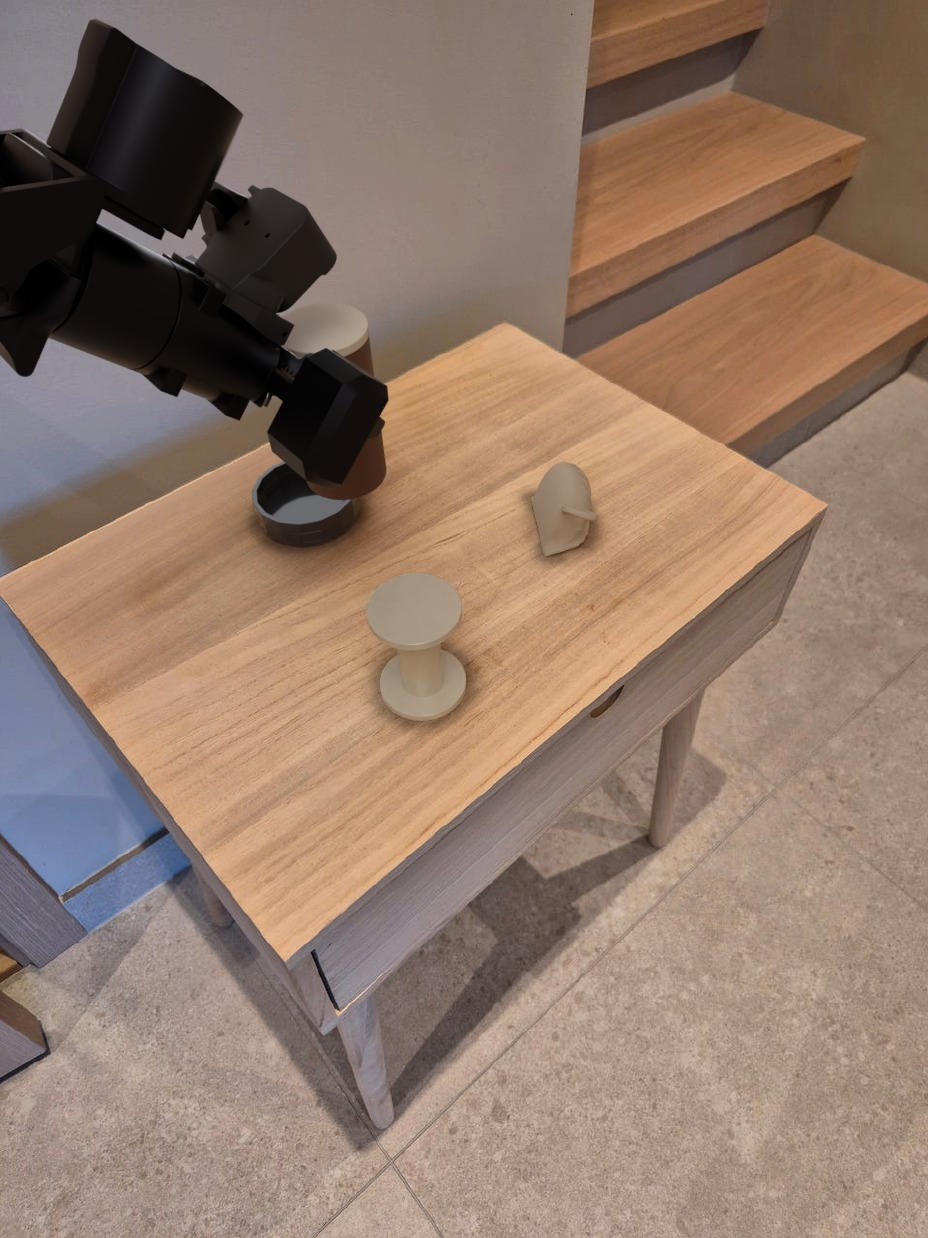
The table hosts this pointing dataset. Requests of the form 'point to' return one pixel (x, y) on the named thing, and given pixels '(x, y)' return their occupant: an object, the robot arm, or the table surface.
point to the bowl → (299, 510)
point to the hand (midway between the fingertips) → (353, 408)
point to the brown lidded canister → (351, 340)
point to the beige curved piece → (563, 508)
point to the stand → (418, 644)
